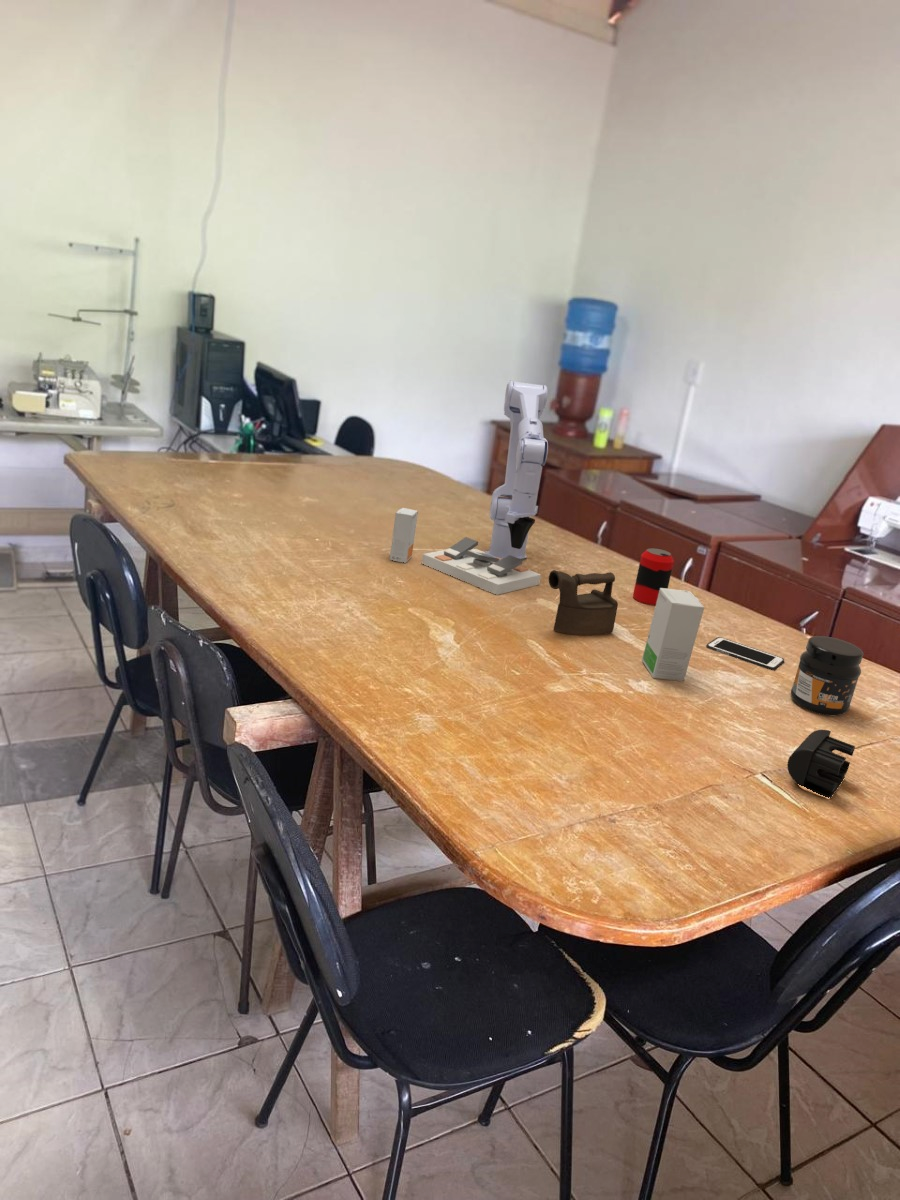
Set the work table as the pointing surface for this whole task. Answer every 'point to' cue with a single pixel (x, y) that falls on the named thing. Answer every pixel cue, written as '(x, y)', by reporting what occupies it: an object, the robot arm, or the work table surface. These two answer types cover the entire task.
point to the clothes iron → (584, 604)
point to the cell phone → (745, 653)
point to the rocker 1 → (460, 548)
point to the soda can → (652, 575)
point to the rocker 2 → (481, 556)
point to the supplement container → (827, 675)
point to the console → (481, 572)
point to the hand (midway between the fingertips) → (516, 547)
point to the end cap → (820, 763)
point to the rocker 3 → (504, 565)
